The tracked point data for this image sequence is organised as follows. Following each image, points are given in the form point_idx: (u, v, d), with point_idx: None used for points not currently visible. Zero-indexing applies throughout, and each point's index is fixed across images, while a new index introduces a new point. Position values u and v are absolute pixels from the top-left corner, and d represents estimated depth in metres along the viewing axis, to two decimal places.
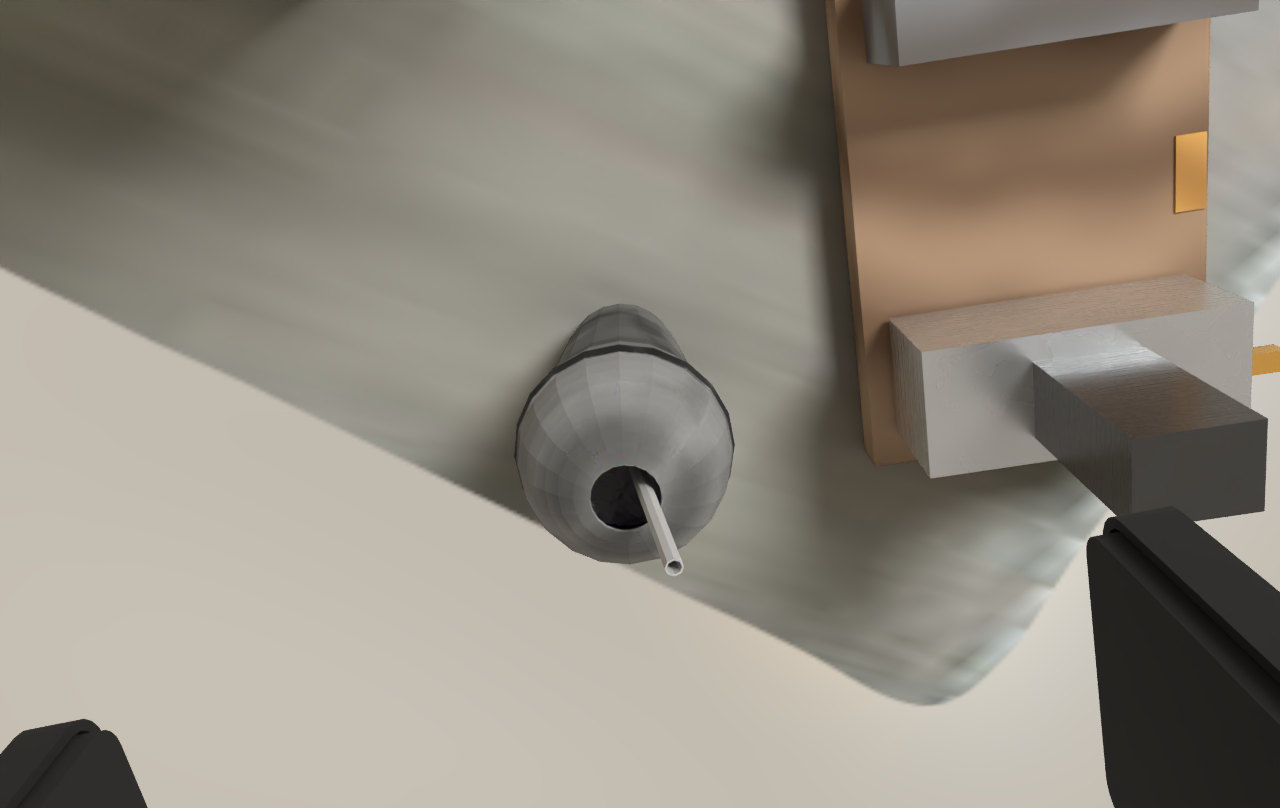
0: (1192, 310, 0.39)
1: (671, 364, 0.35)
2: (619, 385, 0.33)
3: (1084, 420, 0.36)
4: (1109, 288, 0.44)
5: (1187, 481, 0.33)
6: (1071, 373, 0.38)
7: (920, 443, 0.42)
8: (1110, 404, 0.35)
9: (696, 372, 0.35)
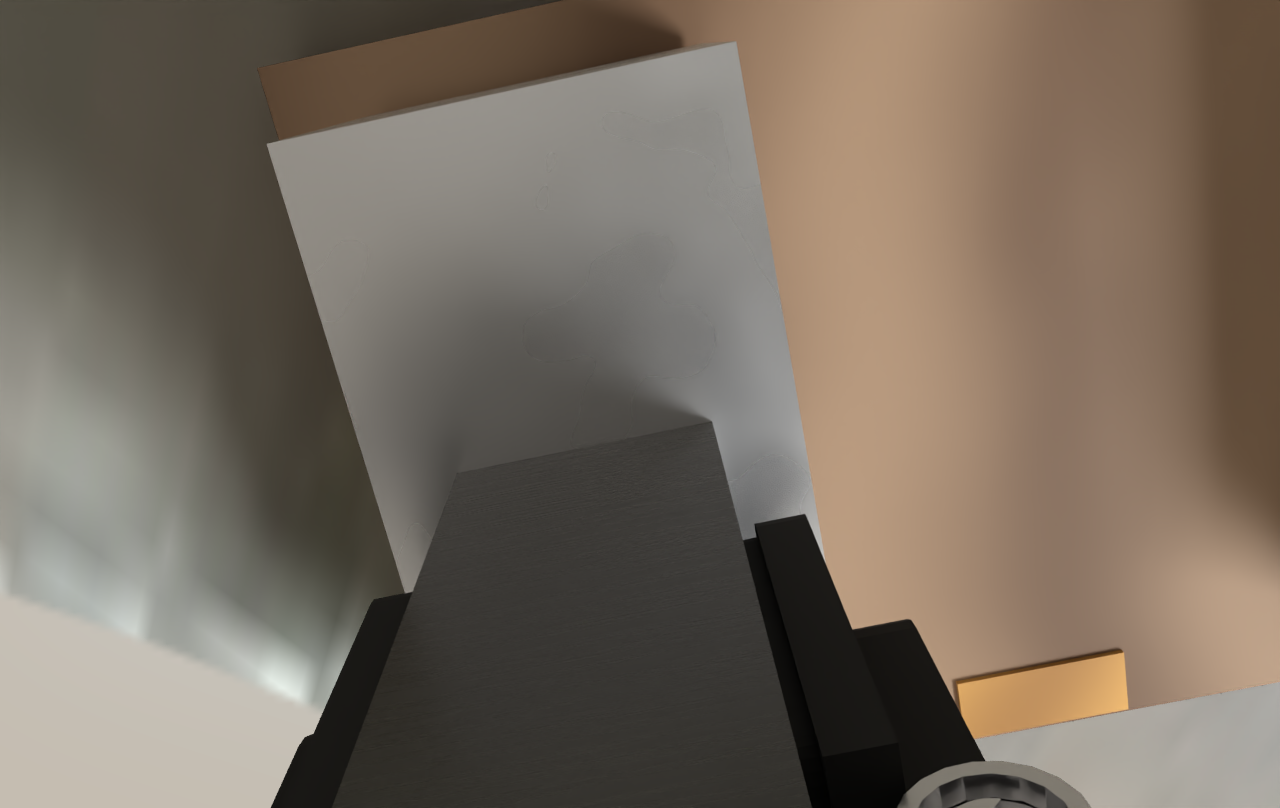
0: None
1: None
2: None
3: (676, 636, 0.08)
4: None
5: None
6: None
7: (380, 118, 0.12)
8: None
9: None
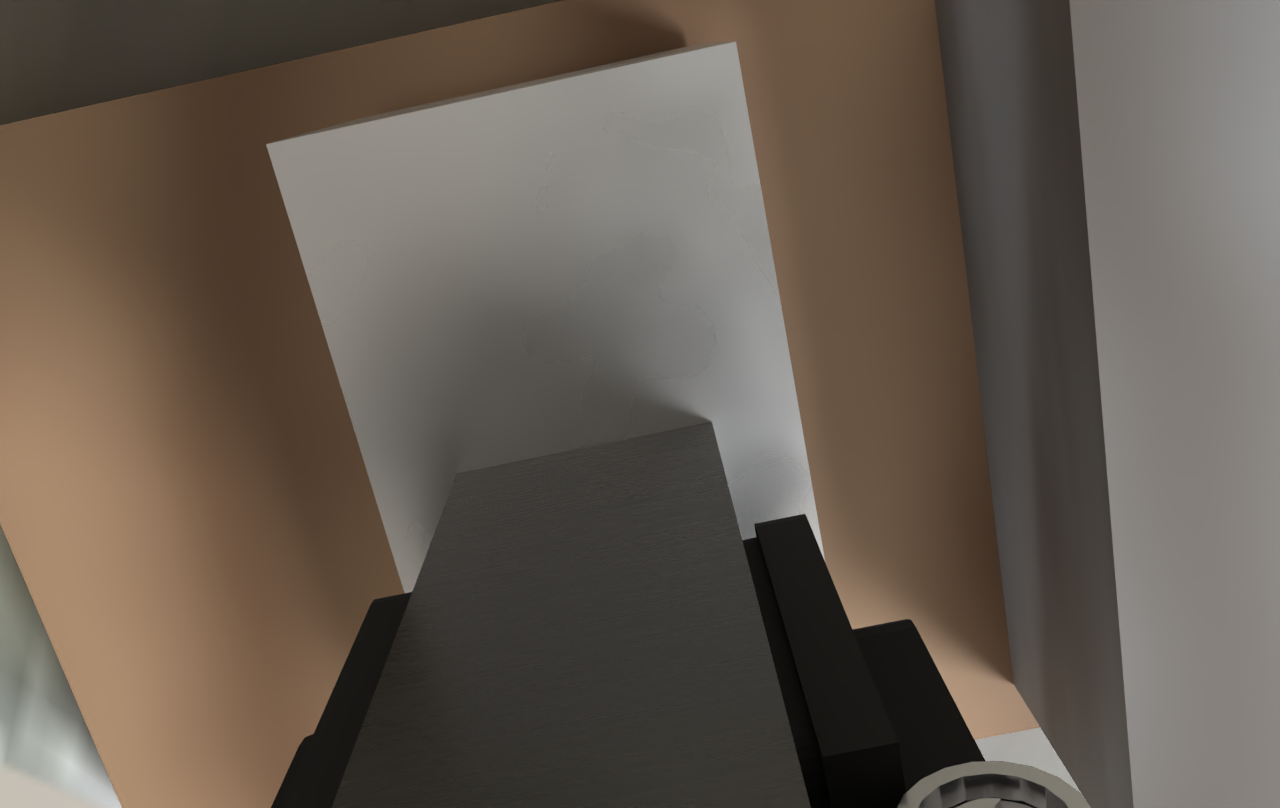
0: None
1: None
2: None
3: (676, 638, 0.08)
4: None
5: None
6: None
7: (380, 118, 0.12)
8: None
9: None
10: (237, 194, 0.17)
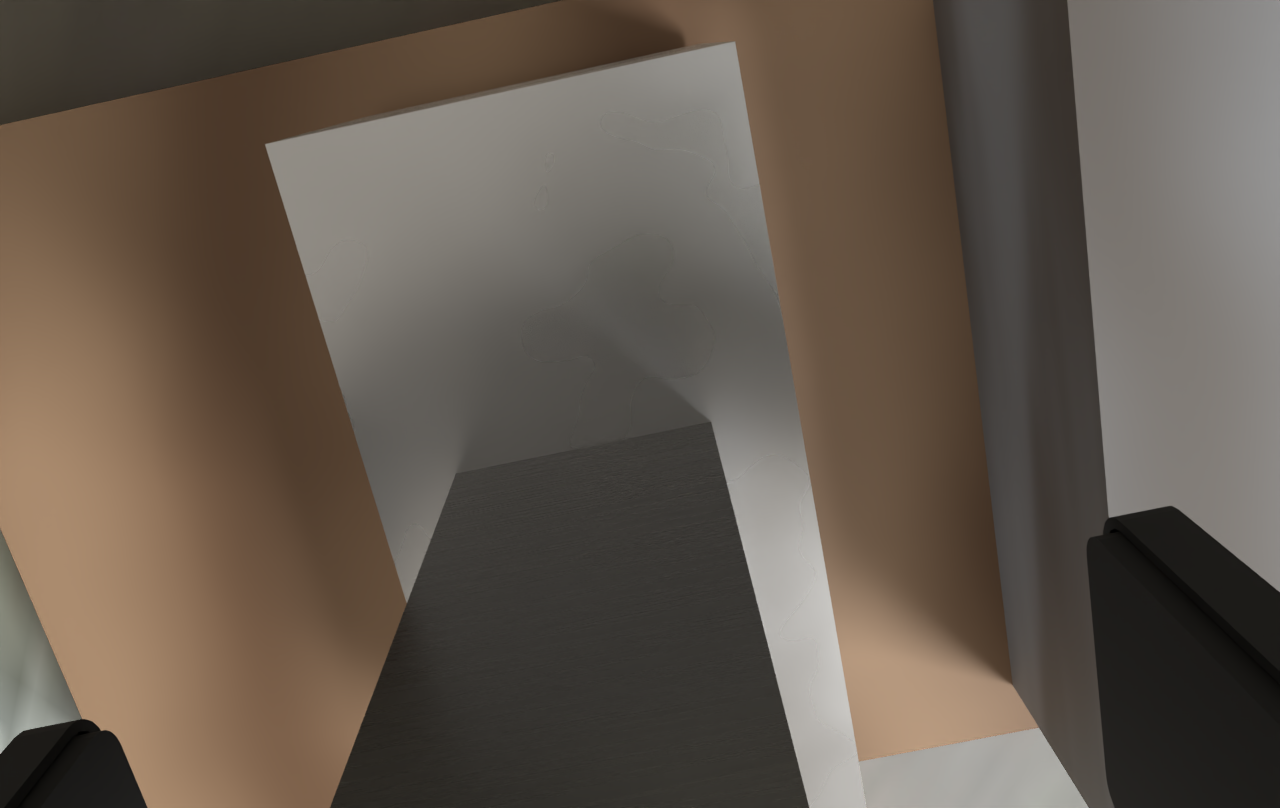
0: None
1: None
2: None
3: (674, 638, 0.08)
4: None
5: None
6: None
7: (379, 118, 0.12)
8: None
9: None
10: (235, 194, 0.17)
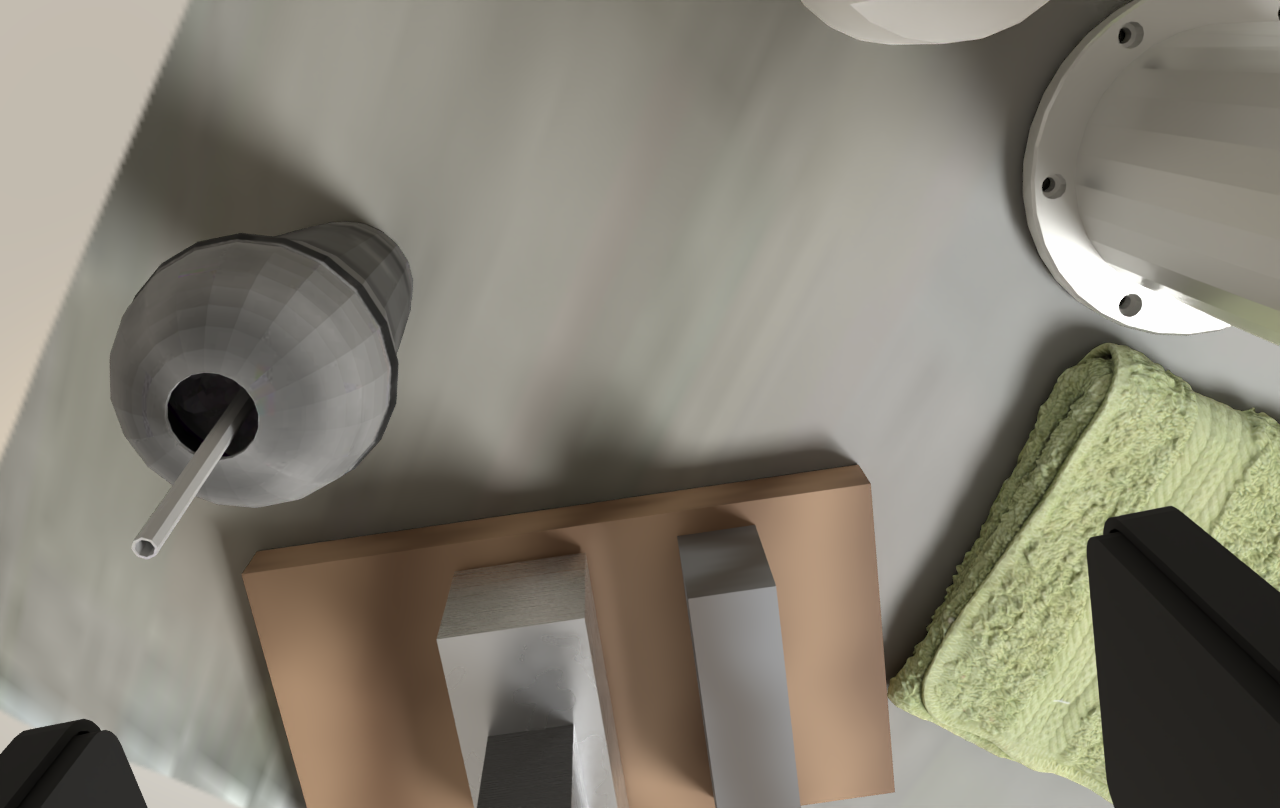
0: None
1: (378, 427, 0.29)
2: (355, 387, 0.27)
3: None
4: (619, 755, 0.43)
5: None
6: (576, 773, 0.36)
7: (469, 617, 0.38)
8: None
9: (368, 452, 0.30)
10: (397, 593, 0.42)
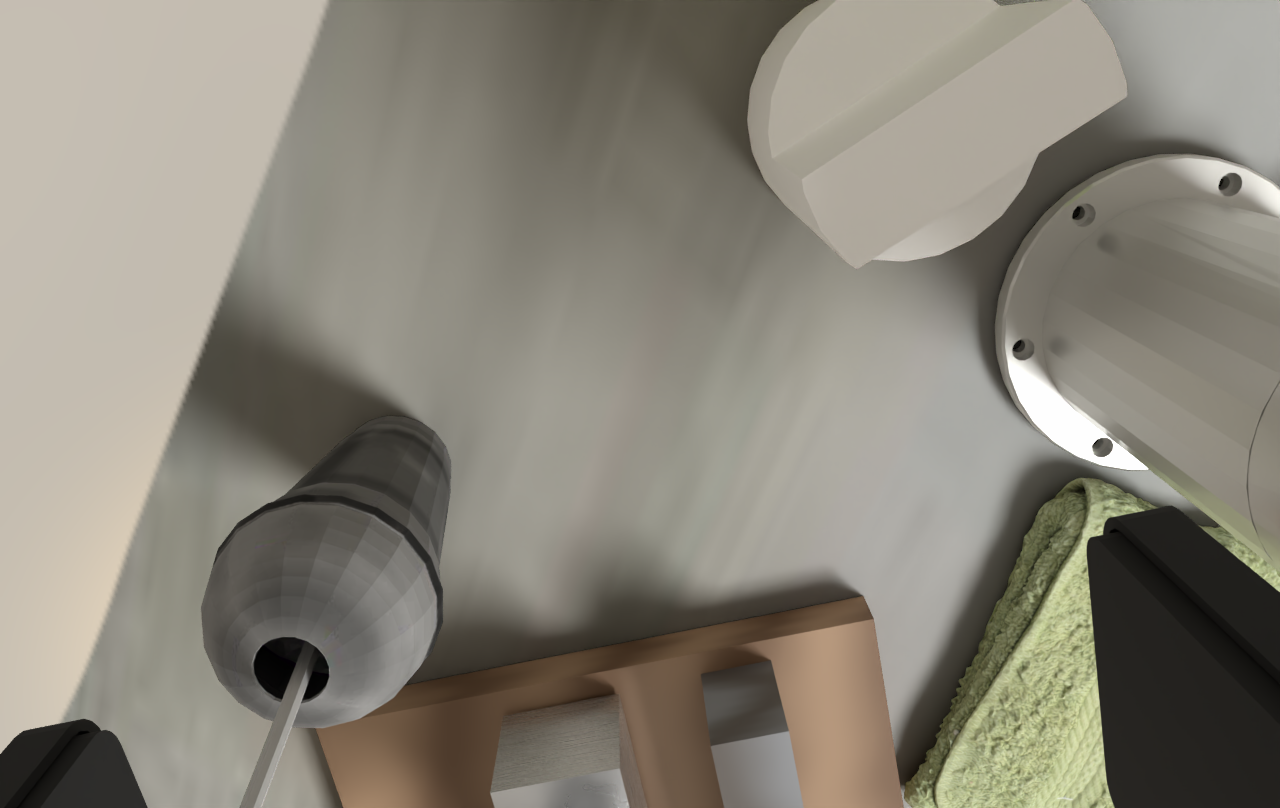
0: None
1: (428, 645, 0.34)
2: (408, 626, 0.32)
3: None
4: None
5: None
6: None
7: (518, 768, 0.42)
8: None
9: (421, 663, 0.35)
10: (453, 736, 0.47)
